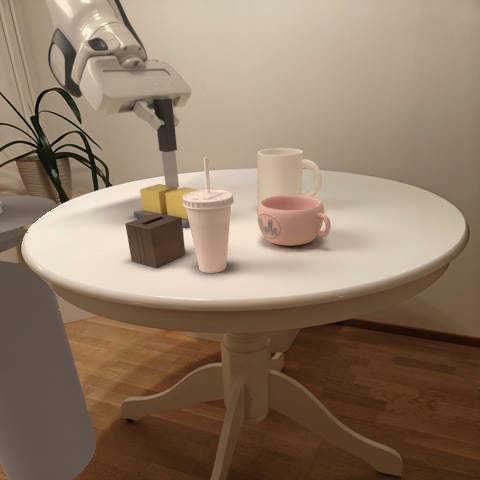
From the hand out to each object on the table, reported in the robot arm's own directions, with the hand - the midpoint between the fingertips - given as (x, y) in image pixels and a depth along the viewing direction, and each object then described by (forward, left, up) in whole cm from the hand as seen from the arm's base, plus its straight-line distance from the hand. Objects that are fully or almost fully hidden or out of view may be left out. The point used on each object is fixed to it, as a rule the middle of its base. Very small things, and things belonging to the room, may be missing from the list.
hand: (167, 125), depth 71 cm
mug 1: (+18, +11, -16) cm, 27 cm away
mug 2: (+24, -7, -16) cm, 30 cm away
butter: (-1, 0, -16) cm, 16 cm away
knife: (-1, 0, -10) cm, 10 cm away
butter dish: (-1, 0, -16) cm, 16 cm away
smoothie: (+16, -20, -16) cm, 30 cm away
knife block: (+7, -19, -16) cm, 26 cm away
